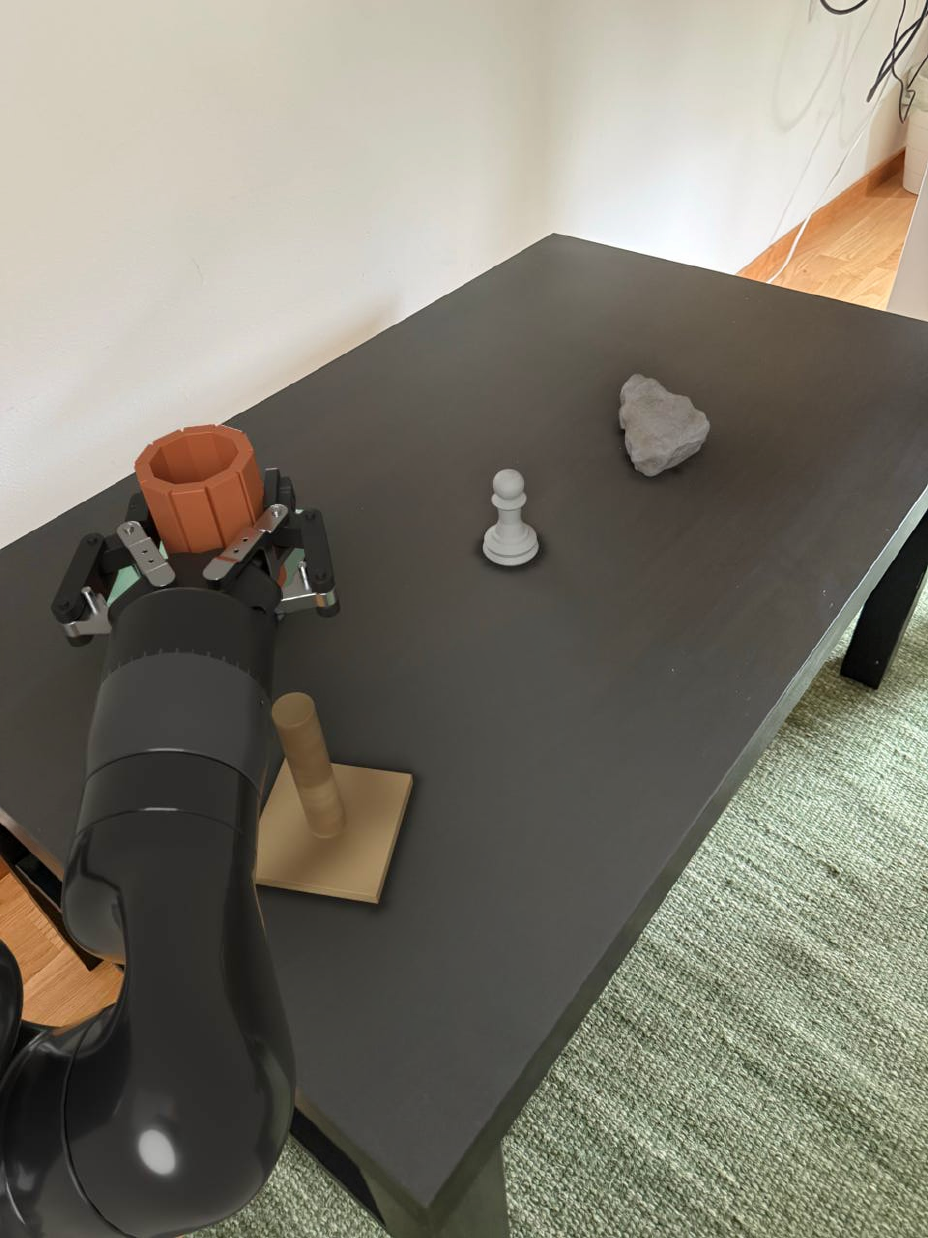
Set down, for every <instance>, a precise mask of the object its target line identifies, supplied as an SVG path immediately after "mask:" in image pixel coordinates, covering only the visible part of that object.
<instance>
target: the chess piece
mask: <svg viewBox="0 0 928 1238" xmlns="http://www.w3.org/2000/svg"><path fill="white" fill-rule="evenodd" d="M492 489H493V491H494V493H493V494H492V496H491V503H492V505H494V506H495V507H496V508H497V512H498V520H497V523H496V524H494V525H492V526H491V527H490V528H488V529H487V531H486V532H485V534H484V537H483V538H484V541H483V545H482V550H483V553H484V555H485V557H487V558H488V559H489V560H490V561H491V562H493V563H495V564H497V565H500V566H505V567H515V566H520V565H523V564H526V563H528V562H529V561H530V560H532V559H533V558H534V557H535V556H536V554H537V553H538V551H539V546H540V545H539V541H538V539H537V538H538V537H537V533H536V530H535V529H534V528H533V527H532V526H531V525H529V524H527V523H524V522H523V519H522V517H521V516H522V515H521V514H522V507H523V506H524V505H525V503H526V502H527V495H526V494H525V492H524V489H525V479H524V477H523V475H522V474H521V473H520V472H519V471H518V470H516V469H511V468H506V469H502V470H500V471H498V472H497V473H496V474H495V476H494V478H493V480H492Z"/></svg>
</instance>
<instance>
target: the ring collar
mask: <svg viewBox="0 0 928 1238" xmlns="http://www.w3.org/2000/svg"><path fill="white" fill-rule="evenodd" d="M133 468H134V471H135V473H136V474H135V475H136V478H137V482H138V484H139V487H140V490H141V489H142V492H143V494H144V497H145V499H146V502H147V505H148V507H149V510H150V512H151V515H152V518H153V520H154V523H155V525H156V528H157V531H158V533H159V536H160V539H161V541H162V544H163V546H164V549H165V552H166V554H167V557H168V558H169V554H173V553H182V552H189V553H202V552H205V551H209V550H212V549H216V548H225V547H228V545H229V544H230V543H231V542H232V541H233V539H234V538H235V537H236V536H237V535H238V533H239V532H240V531H241V530H242V529H243V527H245V526H249V527H253V525H254V524H255V523H256V522H257V520H258V519H259V518H260V517H261V516H262V514H263V513H264V509H263V496H264V483H263V479H262V477H261V476H262V475H261V472H260V468H259V465H258V462H257V457H256V452H255V450H254V447H253V444H252V443H251V441H250V439H249V437H248V436H247V433H244V432H243V431H242V430H239V429H236V428H233V427H230V426H228V425H227V426H226V425H223V424H221V423H219V424H217V425H216V423H211V424H203V425H202V424H200V425H192V426H191V425H190V426H184V427H183V430H182V429H180V428H178V429H176V430H173V431H171V432H169V433H167V434H165V435H163V436H161V437H158V438H157V439H155V440H153V441H152V444H151V443H148V444H147V445H146V447H145V448H144V449H143V450H142V452H141V453H140V455H139V456H138V457H137V458H136V459H135V461H134V466H133ZM286 575H287V573H286V569H285V565H284V564H283V565H282V566H281V569H280V576H279V579H278V581H277V583H278V584H279V585H280V587H281V588H282V587H283V585H284V583H285V581H286V579H287V577H286Z"/></svg>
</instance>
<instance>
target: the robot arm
mask: <svg viewBox="0 0 928 1238" xmlns="http://www.w3.org/2000/svg"><path fill="white" fill-rule="evenodd" d="M263 487H264V496H263V509H264V513H263V514H262V516H261V517H260V518H259V519H258V520H257V522H256V523H255V524H254V525H253V527H249V526H245V527H243V529H242V530H241V531H240V532H239V533H238V535H237V536H236V537H235V538H234V539H233V541H232V542H231V543H230V544H229V545H228V547H225V548H216V549H212V550H209V551H205V552H202V553H189V552H182V553H173V554H169V558H168V559H164V558H163V556H162V555H161V553H160V551H159V549H160V543H161V539H160V536H159V533H158V531H157V528H156V525H155V523H154V520H153V518H152V515H151V512H150V510H149V507H148V505H147V502H146V499H145V497H144V494H143V492H142V489H141V488H140V491H137V492H134V493H133V494H132V496H131V497H130V499H129V502H128V506H127V510H126V515H125V519H124V522H123V523H121V524H120V525H118V527H117V528H116V532H115V533H113V534H111V535H108V536H105V535H104V534H103V533H101V532H91V533H88V534H86V535H84V536H83V537H82V538H81V539H80V541H79V543H78V545H77V548H76V549H75V553H73V556H72V559H71V561H70V563H69V565H68V568H67V570H66V571H65V574H64V576H63V579H62V581H61V583H60V585H59V587H58V589H57V592H56V594H55V596H54V598H53V601H52V602H51V605H50V609H51V612H52V614H53V616H54V618H55V620H56V622H57V624H58V626H59V628H60V629H61V632H62V633H63V635H64V637H65V638H66V641H67V642H68V643H69V646H71V647H73V648H82V647H85V646H87V645H88V644H90V643H91V642H92V641H93V639H94V637H95V635H109V637H108V641H107V645H106V649H105V654H104V658H103V664H102V667H101V670H100V677H99V681H98V686H97V690H96V694H95V698H94V703H93V708H92V712H91V716H90V720H89V725H88V730H87V733H86V739H85V745H84V753H83V770H82V771H83V776H82V785H81V792H80V797H79V801H78V806H77V810H76V816H75V819H74V825H73V829H72V834H71V838H70V843H69V847H68V851H67V856H66V860H65V865H64V868H63V869H64V871H63V876H62V882H61V885H62V886H61V895H60V913H61V917H62V920H63V924H64V927H65V930H66V931H67V933H68V934H69V935H70V937H71V938H72V940H73V941H74V942H75V944H77V945H78V946H79V948H81V949H83V950H84V951H85V952H87V953H89V954H90V955H92V956H94V957H96V958H98V959H101V960H104V961H106V962H110V963H113V964H117V965H124V969H123V970H124V971H123V976H122V980H121V985H120V989H119V992H118V995H117V998H116V1001H115V1002H113V1003H111V1004H109V1005H107V1006H104V1007H102V1008H100V1009H98V1010H96V1011H93V1012H91V1013H88V1014H87V1015H84V1016H82V1017H80V1018H78V1019H76V1020H74V1021H71V1022H70V1023H67V1024H65V1025H63V1026H57V1025H49V1024H43V1023H38V1022H34V1021H30V1020H27V1019H24V1018H23V1011H24V1002H25V990H24V982H23V981H24V980H23V976H22V971H21V969H20V966H19V963H18V960H17V959H16V956H15V954H14V953H13V952H12V950H11V949H10V948H9V946H8V945H7V944H6V943H5V942H4V941H3V940H2V939H1V938H0V1238H179V1237H182V1236H185V1235H188V1234H192V1233H195V1232H198V1231H201V1230H203V1229H206V1228H209V1227H212V1226H214V1225H217V1224H220V1223H222V1222H224V1221H226V1220H227V1219H229V1218H231V1217H232V1216H235V1214H238V1213H239V1212H240V1211H242V1210H243V1209H245V1208H246V1207H247V1206H248V1205H249V1204H250V1203H251V1202H252V1201H253V1200H254V1199H255V1198H256V1197H257V1196H258V1195H259V1193H260V1192H261V1191H262V1190H263V1189H264V1187H265V1186H266V1184H267V1182H268V1181H269V1179H270V1177H271V1176H272V1174H273V1172H274V1171H275V1169H276V1167H277V1165H278V1162H279V1160H280V1157H281V1155H282V1153H283V1152H284V1147H285V1145H286V1143H287V1139H288V1136H289V1132H290V1129H291V1126H292V1122H293V1121H292V1120H293V1116H294V1115H293V1114H294V1110H295V1104H296V1095H297V1067H296V1055H295V1054H296V1053H295V1050H294V1044H293V1039H292V1034H291V1030H290V1026H289V1022H288V1017H287V1013H286V1011H285V1006H284V1001H283V999H282V993H281V989H280V986H279V982H278V978H277V974H276V969H275V966H274V961H273V957H272V951H271V947H270V942H269V938H268V934H267V930H266V925H265V922H264V919H263V914H262V909H261V906H260V902H259V898H258V892H257V885H256V884H255V882H256V872H257V851H258V834H259V820H260V817H261V815H260V813H261V804H262V795H263V790H264V786H265V782H266V778H267V772H268V767H269V759H270V749H271V748H270V747H271V746H270V745H271V743H272V740H273V736H274V721H273V718H272V708H273V690H274V689H273V688H274V669H275V668H274V667H275V652H276V651H275V650H276V649H275V648H276V633H277V631H278V629H279V627H280V626H281V624H282V623H283V622H284V621H285V619H286V617H287V614H288V613H293V612H298V611H303V610H308V609H313V608H315V611H316V614H317V615H318V616H319V617H321V618H325V619H329V618H333V617H336V616H337V615H339V613H340V612H341V603H340V597H339V592H338V587H337V581H336V577H335V571H334V567H333V566H334V565H333V562H332V556H331V550H330V546H329V545H330V544H329V541H328V537H327V532H326V527H325V523H324V518H323V512H322V510H320V509H319V508H317V507H309V508H306V509H302V510H303V511H302V512H301V513H300V514H298V513H296V510H297V499H296V494H295V491H294V486H293V482H292V479H291V478H290V476H289V475H281V471H280V468H279V467H273V468H266V469H265V470H264V483H263ZM295 548H299V549H304V553H305V558H304V559H305V561H303V562H300V563H298V565H297V567H298V570H297V571H296V572H295V573H294V575H293V580H292V582H291V583H290V584H289V585H287V586H285V587H282V588H281V587H280V585H279V584H278V583H277V581H278V579H279V576H280V569H281V566H282V565H283V564H284V562H285V561H286V560H287V558H288V557H289V556H290V554H291V553H292V552H293V550H294V549H295ZM129 566H132V568H133V570H134V571H135V573H136V575H137V576H138V578H139V579H138V580H137V581H136V582H135V583H134V584H132V585H131V586H130V587H129V588H128V589H127V590H126V591H124V592H123V593H122V594H121V595H120V596H119V597H118V598H116V599H115V600H114V601H113V602H112V604H111V605H110V607H108V606H107V602H108V599H109V596H110V594H111V591H112V589H113V586H114V584H115V581H116V579H117V576H118V574H119V570H120V569H123V568H126V567H129Z"/></svg>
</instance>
